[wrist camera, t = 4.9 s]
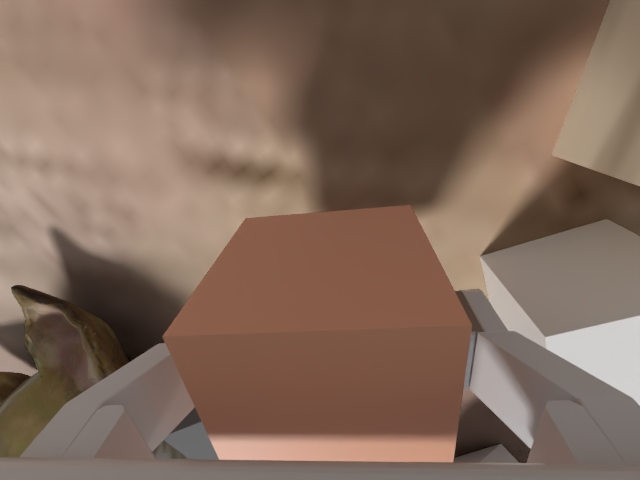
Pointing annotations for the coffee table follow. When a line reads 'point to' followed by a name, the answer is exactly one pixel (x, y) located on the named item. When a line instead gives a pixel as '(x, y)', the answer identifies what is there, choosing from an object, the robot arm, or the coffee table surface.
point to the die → (488, 456)
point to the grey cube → (575, 298)
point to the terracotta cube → (326, 341)
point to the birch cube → (608, 100)
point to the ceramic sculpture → (56, 368)
